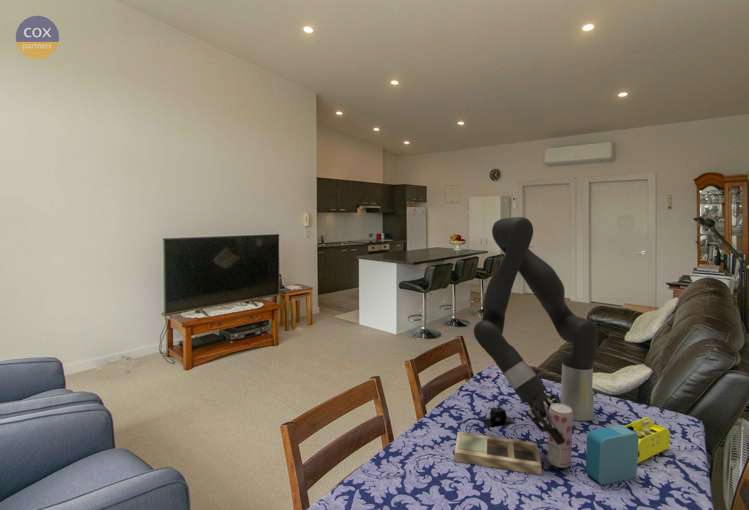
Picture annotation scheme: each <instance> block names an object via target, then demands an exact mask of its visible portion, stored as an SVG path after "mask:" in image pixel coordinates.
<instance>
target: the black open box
mask: <svg viewBox="0 0 749 510" xmlns="http://www.w3.org/2000/svg"><path fill="white" fill-rule="evenodd" d="M481 421H482V422H483V423H484V424H485V425H486V426H487V427H488V428H491V429H492V428H496V427H503V426H508V425H514V424H516V422H515V421H514V420H513V419H511V418H510V417H508V416H507V413H506V410H505V409H504V408H503V407H502V406H498V407H497V406H496V407H491V408H490V412H489V417H487V418H481Z"/></svg>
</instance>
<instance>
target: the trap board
mask: <svg viewBox="0 0 749 510" xmlns="http://www.w3.org/2000/svg"><path fill="white" fill-rule="evenodd" d="M456 435H457V436H456V440H455V447H454V453H453V454H454V455H453V456H454V459H453V460H454V462H456V463H457V462H458V463H465V464H472V465H477V466H482V467H488V468H495V469H502V470H507V471H513V472H518V473H525V474H531V475H532V474H533V475H537V476H542V470H543V469H542V467H543V465H542V462H541V461H542V460H541V456H540V452H539V446H538V443H537V442H531V441H525V440H520V439H519V440H518V439H511V438H510V439H509V438H505V437H504V438H502V437H498V436H497V437H496V436H492V435H491V436H490V435H483V434H475V433H471V432H470V433H469V432H462V431H457V433H456Z"/></svg>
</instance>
